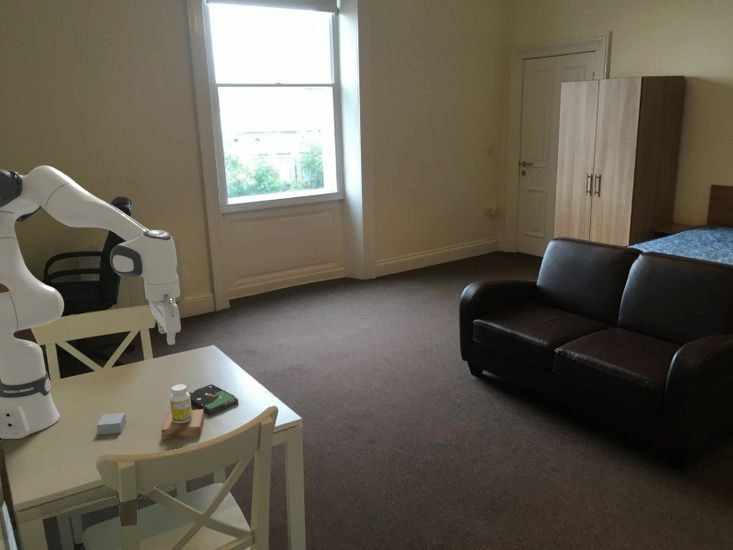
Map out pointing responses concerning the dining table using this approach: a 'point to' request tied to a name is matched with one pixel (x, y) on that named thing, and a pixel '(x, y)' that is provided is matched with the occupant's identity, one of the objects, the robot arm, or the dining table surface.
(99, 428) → the slate plinth
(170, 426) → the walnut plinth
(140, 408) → the dining table surface
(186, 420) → the supplement bottle
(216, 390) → the disk drive
